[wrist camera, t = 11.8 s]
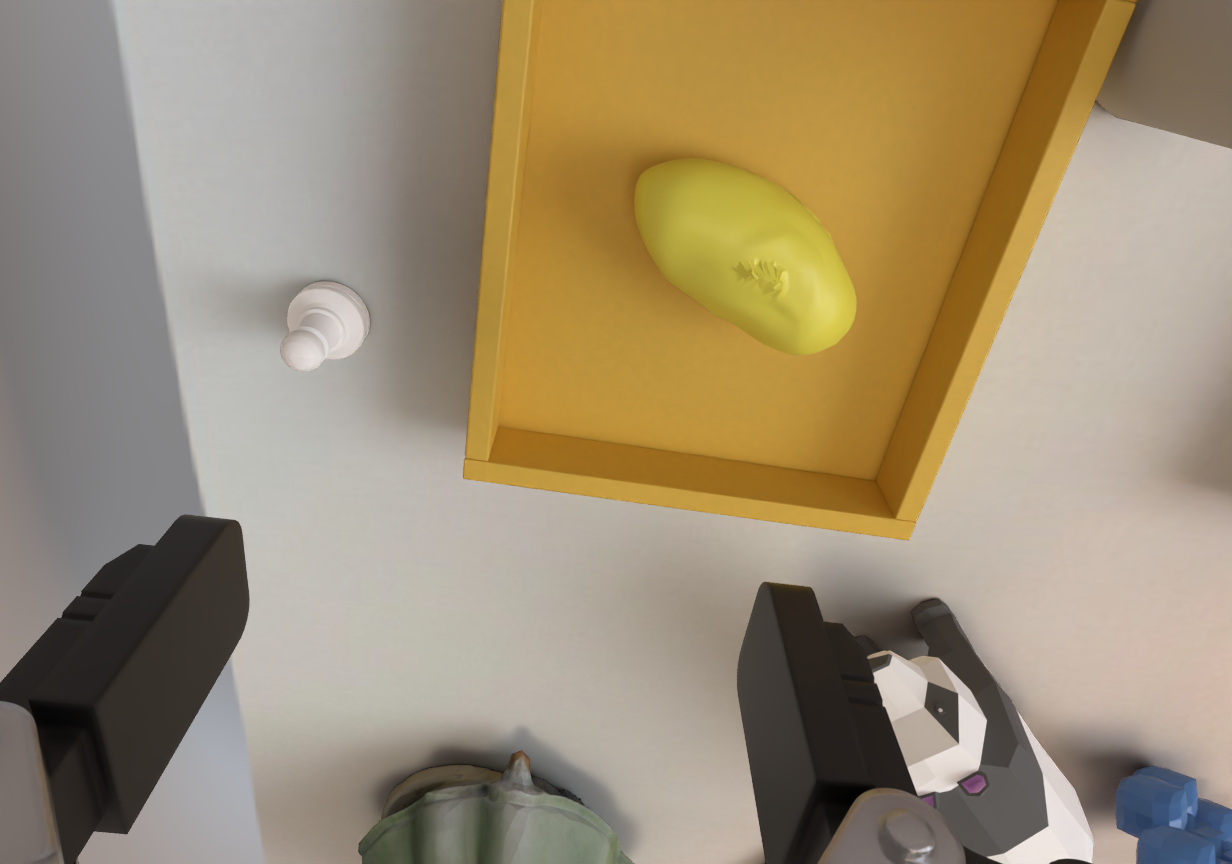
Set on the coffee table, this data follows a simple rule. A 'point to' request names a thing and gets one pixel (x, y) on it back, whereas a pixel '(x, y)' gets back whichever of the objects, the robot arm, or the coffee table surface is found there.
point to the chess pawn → (324, 325)
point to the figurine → (487, 821)
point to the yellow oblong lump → (746, 253)
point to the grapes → (1172, 819)
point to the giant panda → (976, 750)
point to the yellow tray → (818, 177)
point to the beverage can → (1175, 69)
